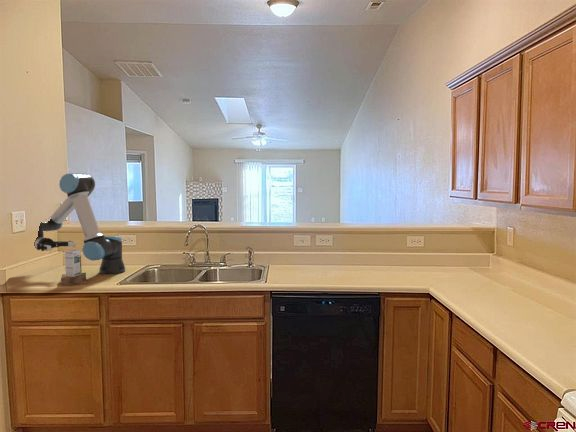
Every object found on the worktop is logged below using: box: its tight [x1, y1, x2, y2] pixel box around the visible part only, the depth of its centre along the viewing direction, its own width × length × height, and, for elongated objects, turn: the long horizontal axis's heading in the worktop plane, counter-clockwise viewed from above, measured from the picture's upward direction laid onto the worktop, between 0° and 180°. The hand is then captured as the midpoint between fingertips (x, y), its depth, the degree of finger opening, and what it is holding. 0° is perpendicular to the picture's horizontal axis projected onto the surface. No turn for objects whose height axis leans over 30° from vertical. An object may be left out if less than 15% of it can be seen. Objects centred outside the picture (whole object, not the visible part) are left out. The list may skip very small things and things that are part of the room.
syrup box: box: [64, 249, 83, 277], centre depth 218 cm, size 6×6×14 cm
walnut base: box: [60, 272, 87, 287], centre depth 219 cm, size 12×12×4 cm
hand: (63, 246), depth 223 cm, fingers open, 13 cm apart
